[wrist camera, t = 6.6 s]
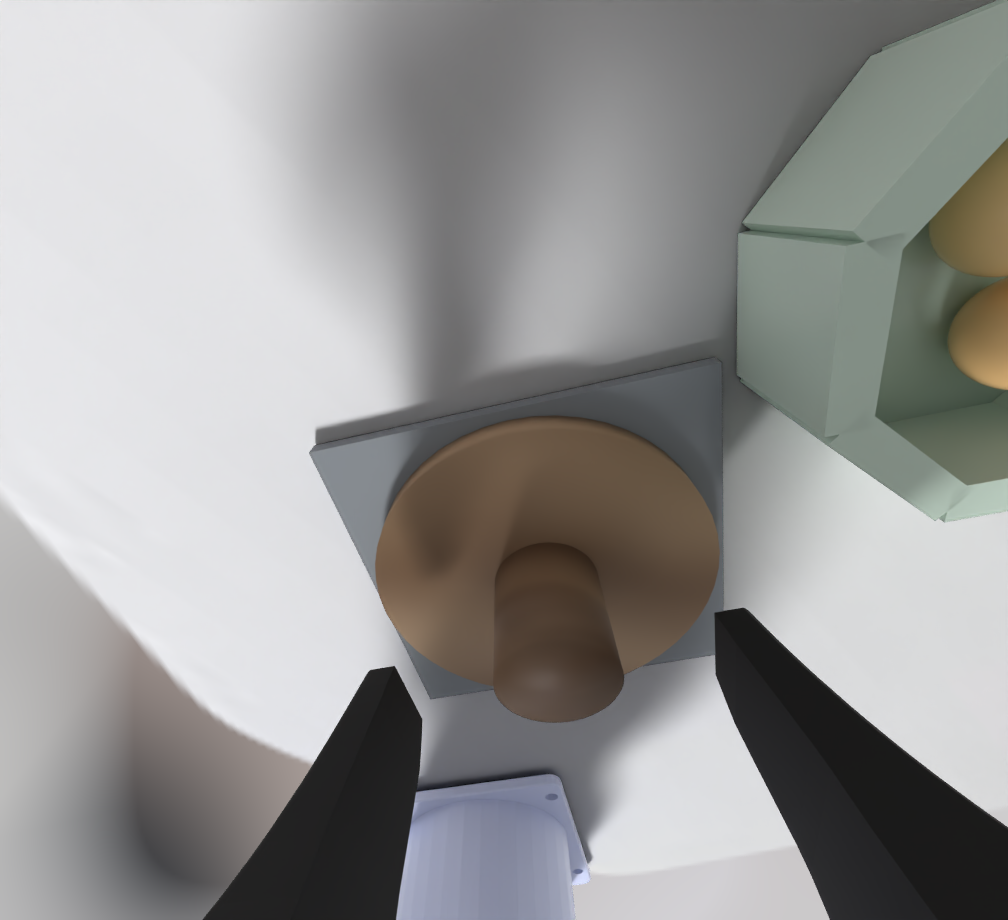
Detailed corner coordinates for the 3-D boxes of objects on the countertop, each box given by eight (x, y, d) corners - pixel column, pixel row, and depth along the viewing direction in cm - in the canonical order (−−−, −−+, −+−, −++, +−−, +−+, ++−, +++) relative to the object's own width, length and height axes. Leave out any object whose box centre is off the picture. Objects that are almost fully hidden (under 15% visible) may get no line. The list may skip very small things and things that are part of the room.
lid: (692, 658, 15) (746, 784, 12) (417, 679, 16) (394, 806, 12) (726, 395, 11) (827, 480, 8) (343, 435, 11) (276, 531, 8)
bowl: (1070, 396, 11) (1273, 464, 8) (735, 462, 12) (812, 545, 9) (1240, -52, 8) (1718, -218, 5) (739, 87, 8) (870, 22, 5)
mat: (718, 643, 16) (723, 653, 15) (432, 688, 17) (430, 699, 16) (714, 357, 11) (722, 362, 10) (314, 445, 12) (309, 452, 11)
